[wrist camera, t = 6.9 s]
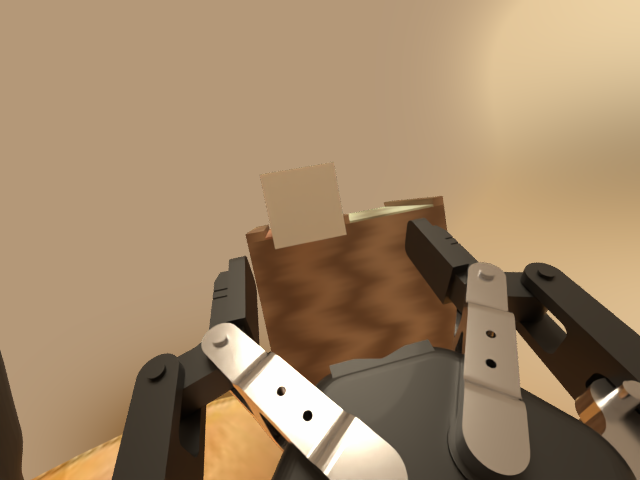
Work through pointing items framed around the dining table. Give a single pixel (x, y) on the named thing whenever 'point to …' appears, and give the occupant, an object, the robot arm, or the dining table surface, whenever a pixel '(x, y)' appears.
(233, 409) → the dining table surface
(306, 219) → the block
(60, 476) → the dining table surface
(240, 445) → the dining table surface
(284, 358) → the brown patterned box
